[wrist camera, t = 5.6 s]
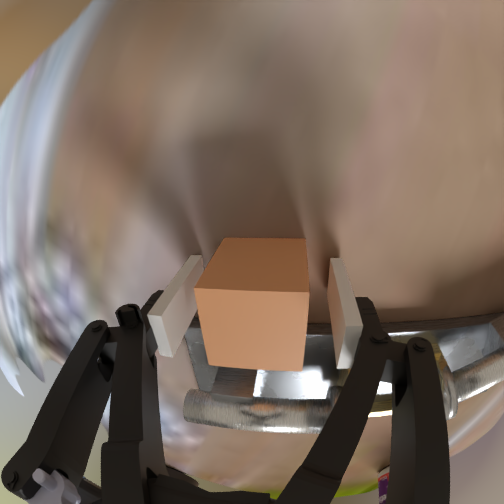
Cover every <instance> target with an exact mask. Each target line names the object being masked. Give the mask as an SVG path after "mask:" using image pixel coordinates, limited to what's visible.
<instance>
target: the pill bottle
mask: <svg viewBox="0 0 504 504" xmlns="http://www.w3.org/2000/svg"><path fill="white" fill-rule="evenodd" d="M389 469H390V466H389V467H387V468H385V469H384V470H382V471H381V472H380V473H379V475H378V486H379V504H385V503H386V496H387V488H388V479H389Z"/></svg>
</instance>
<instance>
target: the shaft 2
mask: <svg viewBox="0 0 504 504" xmlns="http://www.w3.org/2000/svg"><path fill="white" fill-rule="evenodd" d="M438 373H439V375H440V378H441V379H440V383H441V389H442V395H443V401H444V408H445V415H446V420H449V419H451V418H453V417H455V416H456V414H457V410H458V403H460V402H462V401H464V400H466V399H468V398H470V397H472V396H474V395H476V394H478V393H480V392H482V391H484V390H486V389H488V388H490V387H492V386H493V385H495V384H497V383H499V382H500V381H502V380H504V314H503V315H502V316H500V317H498V318H496V319H494V320H492V321H490V323H489V329H488V334H487V338H486V343H485V347H484V351H483V357H482V358H480V359H478V360H476V361H474V362H472V363H470V364H468V365H466V366H463V367H461V368H459V369H457V370H455V371H452V372H451V370H450V369H449V367H448V366H447V365H446V366H445V367H444V369H443V372H442V371H441V370H440V369H439V368H438Z"/></svg>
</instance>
